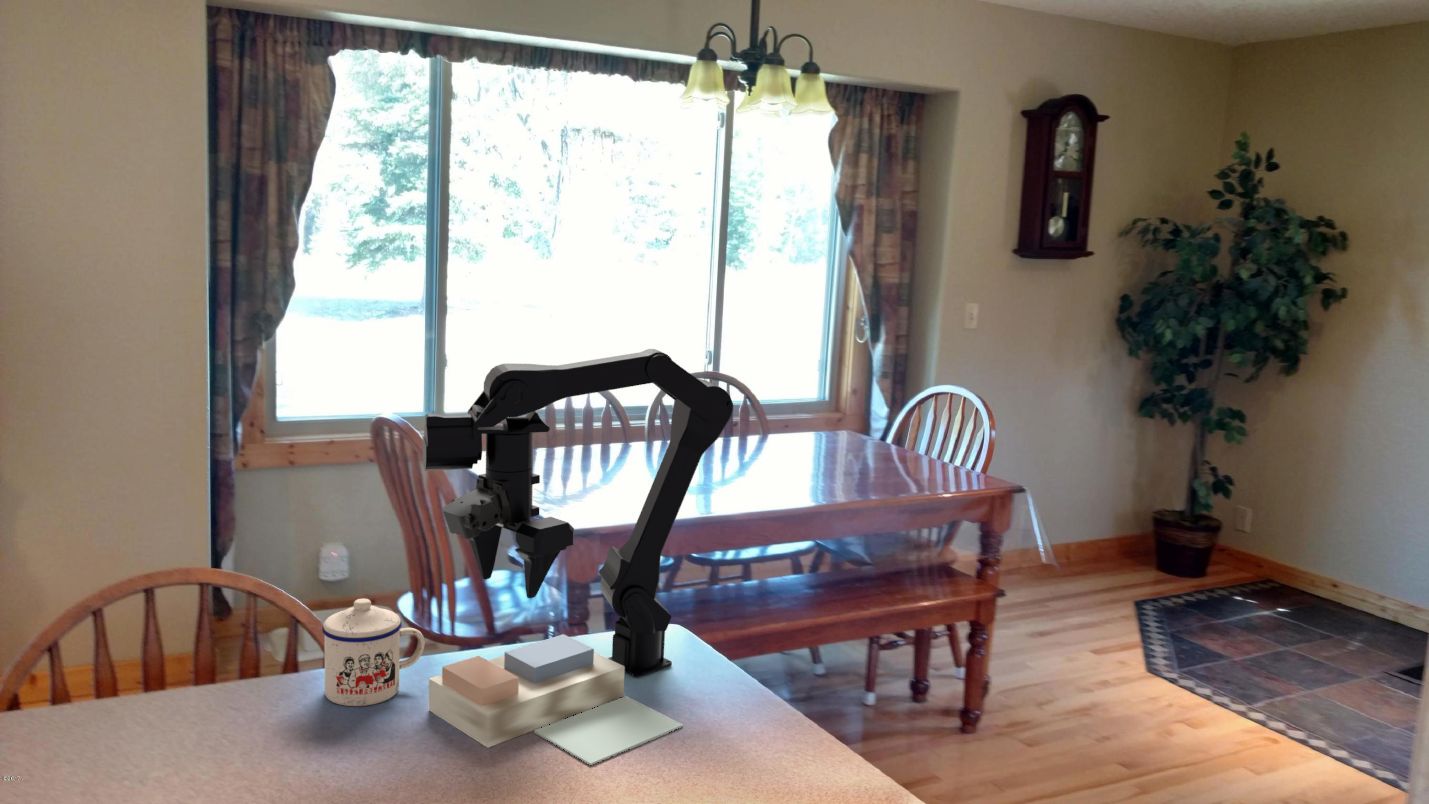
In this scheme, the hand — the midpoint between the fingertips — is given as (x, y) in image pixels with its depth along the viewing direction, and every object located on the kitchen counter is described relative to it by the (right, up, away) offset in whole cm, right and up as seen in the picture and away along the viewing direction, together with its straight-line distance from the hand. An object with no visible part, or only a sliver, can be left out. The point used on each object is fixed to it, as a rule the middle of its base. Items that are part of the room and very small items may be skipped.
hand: (508, 587), depth 135 cm
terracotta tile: (-1, -10, -11) cm, 15 cm away
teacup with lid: (-16, -12, -4) cm, 20 cm away
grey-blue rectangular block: (+6, -9, -4) cm, 11 cm away
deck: (+3, -13, -5) cm, 15 cm away
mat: (+14, -15, -11) cm, 23 cm away
